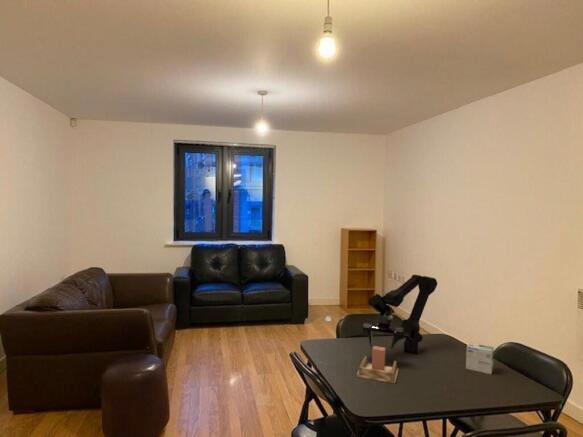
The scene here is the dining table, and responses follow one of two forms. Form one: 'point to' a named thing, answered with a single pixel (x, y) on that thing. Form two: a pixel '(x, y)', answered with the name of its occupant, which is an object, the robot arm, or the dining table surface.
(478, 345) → the light bulb box
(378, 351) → the pink rectangular block
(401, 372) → the dining table surface
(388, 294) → the robot arm
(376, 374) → the rack
